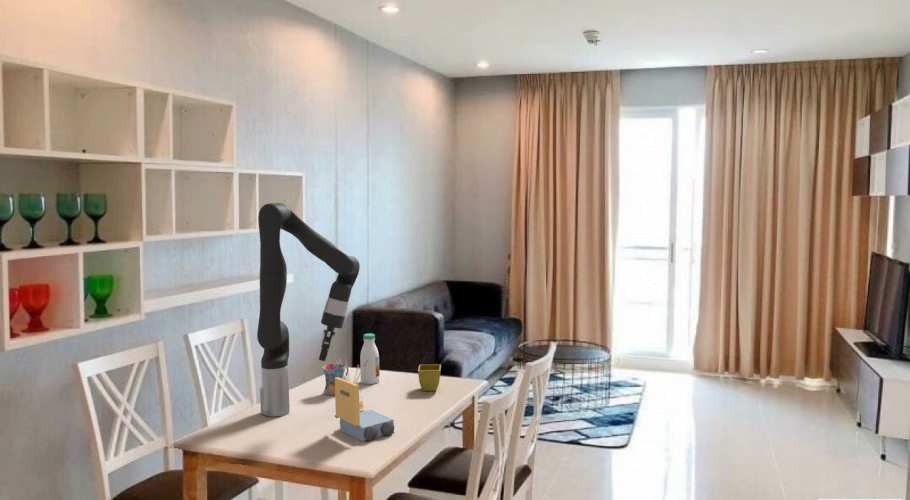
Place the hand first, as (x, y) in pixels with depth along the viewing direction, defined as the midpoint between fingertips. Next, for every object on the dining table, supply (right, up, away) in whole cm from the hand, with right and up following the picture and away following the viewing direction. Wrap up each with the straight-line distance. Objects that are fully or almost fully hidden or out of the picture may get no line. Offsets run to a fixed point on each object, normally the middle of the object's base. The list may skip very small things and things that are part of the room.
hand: (322, 358), depth 247 cm
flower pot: (+35, -18, +40) cm, 56 cm away
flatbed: (+16, -23, -7) cm, 29 cm away
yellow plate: (+10, -19, -12) cm, 25 cm away
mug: (-1, -19, +38) cm, 42 cm away
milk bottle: (+10, -18, +52) cm, 55 cm away
